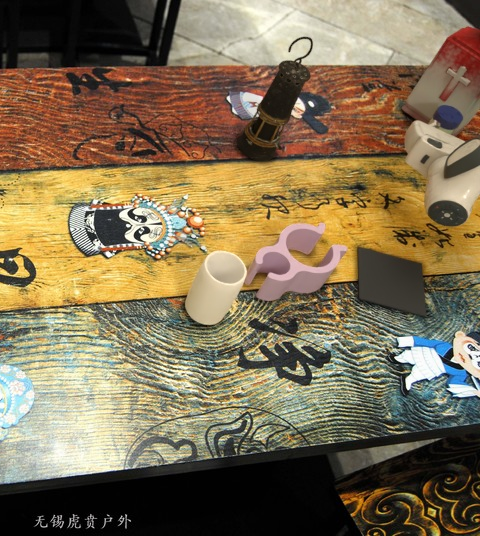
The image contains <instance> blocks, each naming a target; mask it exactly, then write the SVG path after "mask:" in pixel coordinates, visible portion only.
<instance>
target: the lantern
mask: <svg viewBox="0 0 480 536" xmlns="http://www.w3.org/2000/svg"><path fill="white" fill-rule="evenodd" d="M301 40H308V41H309V42H310V45H309V50H308V51H307V52H306V54H304V55H303V56H300V57H297V58H295V59H294V60H291V59H290V60H288V59H287V60H286V59H285V60H282V61H281V62H280V63H279V64H278V71H277V72H276V74H275V76H274V77H273V80H272V81H271V84H270V85H269V87H268V89H267V90H266V92H265V95H264V96H263V97H262V99H261V100H260V102H259V103H258V105H257V107H256V112H255V113H254V115H253V116H252V119H251V121H250V122H248V123H247V124H246V125H245V128H244V130H243V131H242V133H241V134H240V135H239V136H238V138H237V147H238V150H239V151H240V152H241V153H242V154H243V155H244V156H246V157H247V158H249V159H251V160H252V161H253V160H254V161H257V162H266V161H270V160H272V159H273V158H274V157H275V155H276V153H277V149H278V150H279V151H282V150H283V147H282V146H281V141H282V134H283V132H284V131H285V127H286V125H287V124H288V123H289V122H290V119H291V117H292V114H293V110H294V108H295V106H296V104H297V101H298V99H299V97H300V95H301V92H302V91H303V88H304V86H305V84H306V83H307V82H309V81H310V80H311V77H312V76H311V72H310V69H309V68H308V67H307V66H305V65H304V64H302V62H303V59H306V58H308V56H310V54H311V53H312V51H313V47H314V41H313V38H311V37H310V36H300V37H297V38H296V39H295V40H293V41H292V42H291V43H290V45H289V46H288V50H287V51H288V52H287V53H291V52H292V51H291V50H292V47H293V46H294V45H295V44H297V42H299V41H301ZM256 117H257V118H256ZM281 126H282V128H281ZM280 129H281V130H280Z"/></svg>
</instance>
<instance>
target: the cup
mask: <svg viewBox="0 0 480 536" xmlns="http://www.w3.org/2000/svg"><path fill="white" fill-rule="evenodd" d="M247 270H248V269H247V267H246V264H245V262H244V261H243V260H242V258H240V257H239V256H238V255H237V254H235V253H232V252H230V251H227V250H226V251H225V250H214V251H211V252H210V253H208V255H206V257H205V258H204V260H203V261H202V263H201V265H200V266H199V268H198V270H197V272H196V273H195V275H194V278H193V280H192V282H191V285H190V287H189V290H188V293H187V295H186V298H185V302H184V307H185V308H184V309H185V311H186V313H187V314H188V315H189V317H190V318H191V319H192V320H193V321H195V322H197V323H199V324H202V325H205V326H206V325H207V326H212V325H213V326H214V325H216V324H218V323H220V322H221V321H222V320H223V319H224V317H225V316H226V315H227V313H228V311H229V310H230V309H231V307H232V306H233V304H234V303H235V300H236V299H237V297H238V295H239V293H240V292H241V290H242V288H243V286H244V284H245V283H244V281H245V278H246V275H247Z"/></svg>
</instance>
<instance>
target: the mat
mask: <svg viewBox="0 0 480 536" xmlns="http://www.w3.org/2000/svg"><path fill="white" fill-rule="evenodd" d="M357 289H358V290H357V291H358V300H359V301H364V302H367V303H371V304H375V305H378V306H382V307H386V308H390V309H393V310H397V311H401V312H405V313H409V314H412V315H415V316H420V317H423V318H426V317H427V306H426V295H425V294H426V293H425V285H424V273H423V263H421V262H417V261H414V260H410V259H406V258H402V257H399V256H396V255H391V254H387V253H385V252H380V251H377V250H373V249H369V248H366V247H362V246H357Z"/></svg>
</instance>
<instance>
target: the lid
mask: <svg viewBox="0 0 480 536" xmlns="http://www.w3.org/2000/svg"><path fill="white" fill-rule="evenodd" d="M433 120H436V121H438V122H440V127H442V128H444V129H448V130H454V129H456V128H458V126H459V125H460V124H461V122H462V121H463V115H462V114H461V112H460V111H459V110H457V109H456V108H454V107H452V106H448V105H441V106H439V107H438V108H437V110H436V111H435V113H434V114H433Z"/></svg>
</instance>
